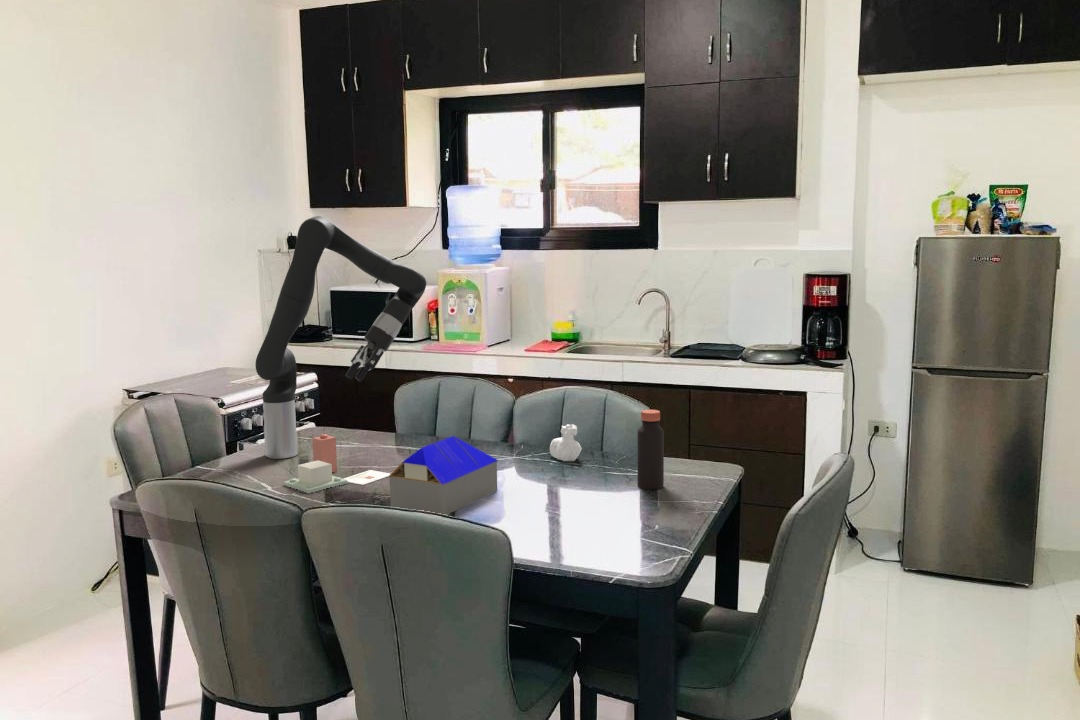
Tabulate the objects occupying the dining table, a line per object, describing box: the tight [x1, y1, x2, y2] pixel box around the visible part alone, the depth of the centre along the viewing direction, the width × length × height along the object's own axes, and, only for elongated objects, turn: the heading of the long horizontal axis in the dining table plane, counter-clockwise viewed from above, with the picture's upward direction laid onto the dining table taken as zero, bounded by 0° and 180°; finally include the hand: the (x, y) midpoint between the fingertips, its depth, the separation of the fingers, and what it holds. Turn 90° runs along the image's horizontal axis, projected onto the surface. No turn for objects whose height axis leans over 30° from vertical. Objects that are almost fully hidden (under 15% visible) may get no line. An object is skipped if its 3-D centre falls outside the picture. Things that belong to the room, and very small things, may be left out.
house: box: [387, 435, 499, 516], centre depth 216 cm, size 25×16×16 cm, turn 151°
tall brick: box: [312, 433, 338, 473], centre depth 244 cm, size 5×5×11 cm
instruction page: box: [343, 469, 391, 486], centre depth 238 cm, size 9×12×1 cm
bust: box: [549, 423, 583, 462], centre depth 255 cm, size 12×8×11 cm
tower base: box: [283, 460, 348, 494], centre depth 231 cm, size 12×12×6 cm
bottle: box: [637, 409, 665, 491], centre depth 223 cm, size 7×7×20 cm
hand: (353, 378), depth 246 cm, fingers open, 8 cm apart
